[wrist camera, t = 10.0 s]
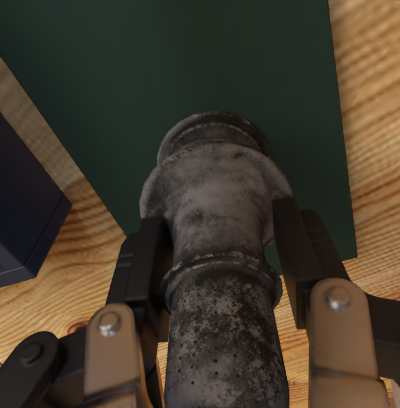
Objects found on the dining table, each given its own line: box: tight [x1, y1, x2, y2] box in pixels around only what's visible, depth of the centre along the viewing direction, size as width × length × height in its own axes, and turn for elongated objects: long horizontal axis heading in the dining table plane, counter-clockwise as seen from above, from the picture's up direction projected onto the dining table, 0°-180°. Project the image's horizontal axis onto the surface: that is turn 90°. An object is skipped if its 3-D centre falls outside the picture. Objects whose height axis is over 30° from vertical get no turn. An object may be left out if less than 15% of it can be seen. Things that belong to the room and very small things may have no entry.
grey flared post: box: [139, 111, 293, 408], centre depth 11 cm, size 6×6×12 cm
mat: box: [0, 0, 358, 276], centre depth 15 cm, size 20×12×1 cm, turn 21°
